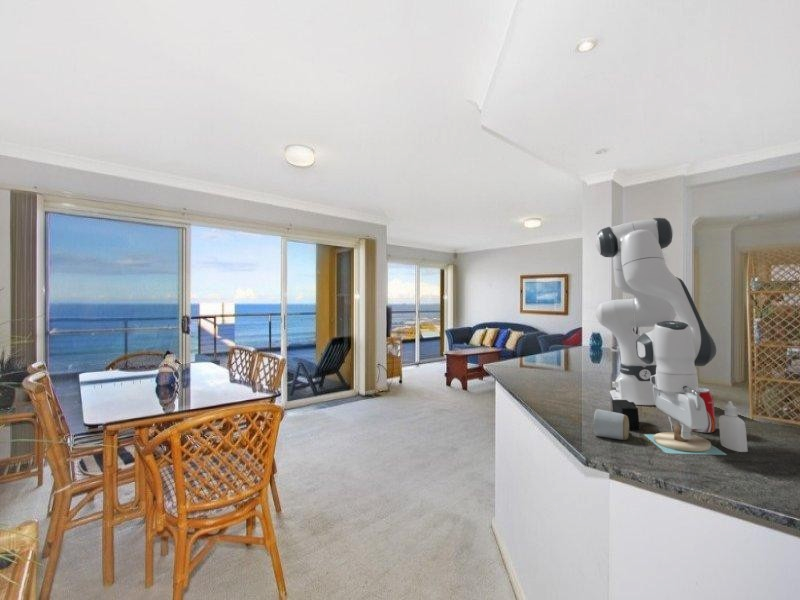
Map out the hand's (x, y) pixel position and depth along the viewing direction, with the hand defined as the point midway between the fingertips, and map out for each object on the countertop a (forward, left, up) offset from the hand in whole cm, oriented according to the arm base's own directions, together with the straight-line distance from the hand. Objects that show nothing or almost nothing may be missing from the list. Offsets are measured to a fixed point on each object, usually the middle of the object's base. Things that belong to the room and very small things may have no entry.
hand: (681, 435), depth 98 cm
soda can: (-12, +10, -3) cm, 16 cm away
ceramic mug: (-6, -15, -3) cm, 16 cm away
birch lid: (0, 0, -2) cm, 2 cm away
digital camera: (-16, -7, -3) cm, 18 cm away
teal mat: (0, 0, -3) cm, 3 cm away
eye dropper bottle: (+2, +11, -3) cm, 11 cm away
